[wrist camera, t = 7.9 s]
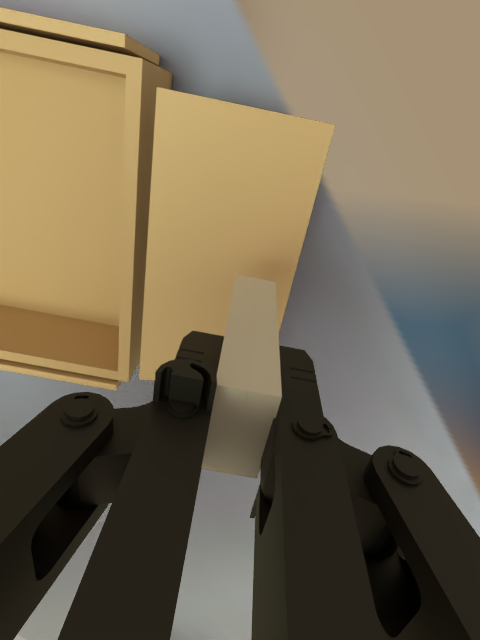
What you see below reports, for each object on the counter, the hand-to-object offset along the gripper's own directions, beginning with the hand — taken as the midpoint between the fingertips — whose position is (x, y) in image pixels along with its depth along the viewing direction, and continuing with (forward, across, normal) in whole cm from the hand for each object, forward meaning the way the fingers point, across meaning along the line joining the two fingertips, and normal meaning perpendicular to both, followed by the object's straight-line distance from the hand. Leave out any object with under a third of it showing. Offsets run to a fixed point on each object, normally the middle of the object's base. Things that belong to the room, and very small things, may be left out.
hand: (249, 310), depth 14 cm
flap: (+3, -5, 0) cm, 6 cm away
